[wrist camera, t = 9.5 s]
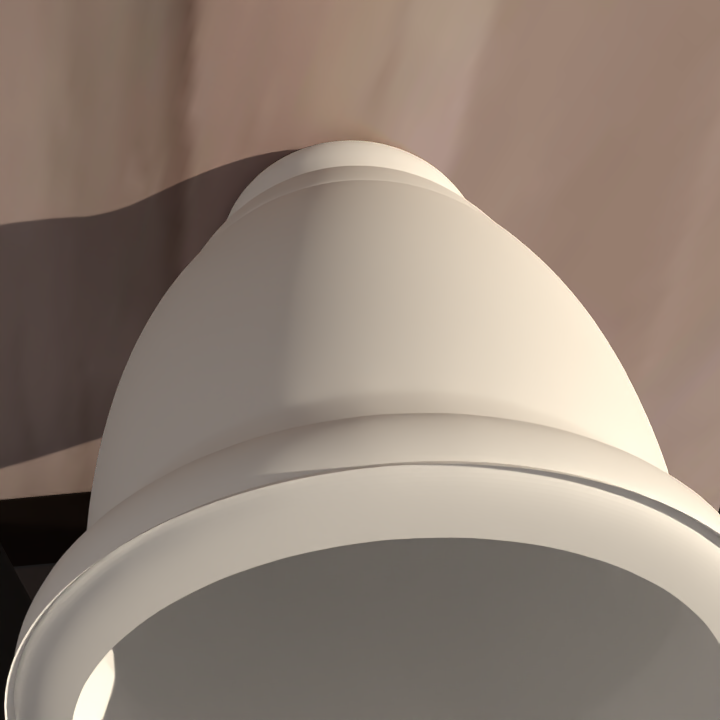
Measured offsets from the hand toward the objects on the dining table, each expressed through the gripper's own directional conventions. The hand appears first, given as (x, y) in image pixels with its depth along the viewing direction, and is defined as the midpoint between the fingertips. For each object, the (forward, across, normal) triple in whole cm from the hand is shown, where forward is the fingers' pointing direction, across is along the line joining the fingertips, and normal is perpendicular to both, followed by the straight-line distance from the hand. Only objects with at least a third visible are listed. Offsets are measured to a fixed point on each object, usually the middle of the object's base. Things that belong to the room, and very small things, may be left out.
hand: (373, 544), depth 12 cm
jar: (+11, 0, 0) cm, 11 cm away
